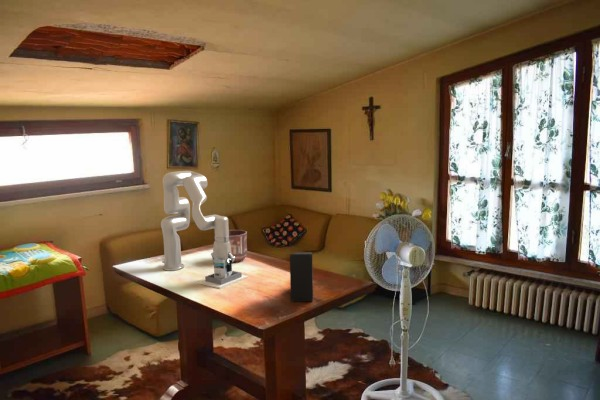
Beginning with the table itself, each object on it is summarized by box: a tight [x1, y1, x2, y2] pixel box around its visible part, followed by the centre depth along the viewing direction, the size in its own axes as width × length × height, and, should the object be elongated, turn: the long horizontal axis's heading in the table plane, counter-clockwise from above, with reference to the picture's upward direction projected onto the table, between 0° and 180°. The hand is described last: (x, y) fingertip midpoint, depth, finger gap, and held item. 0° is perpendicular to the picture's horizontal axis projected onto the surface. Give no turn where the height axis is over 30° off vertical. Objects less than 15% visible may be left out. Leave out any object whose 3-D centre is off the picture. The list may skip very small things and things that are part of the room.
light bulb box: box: [213, 258, 233, 279], centre depth 247 cm, size 11×7×11 cm, turn 167°
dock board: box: [198, 270, 249, 289], centre depth 248 cm, size 16×22×3 cm
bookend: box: [289, 251, 314, 302], centre depth 225 cm, size 23×11×24 cm, turn 178°
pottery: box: [229, 229, 248, 264], centre depth 287 cm, size 18×18×18 cm
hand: (223, 269), depth 248 cm, fingers closed on light bulb box, 8 cm apart
